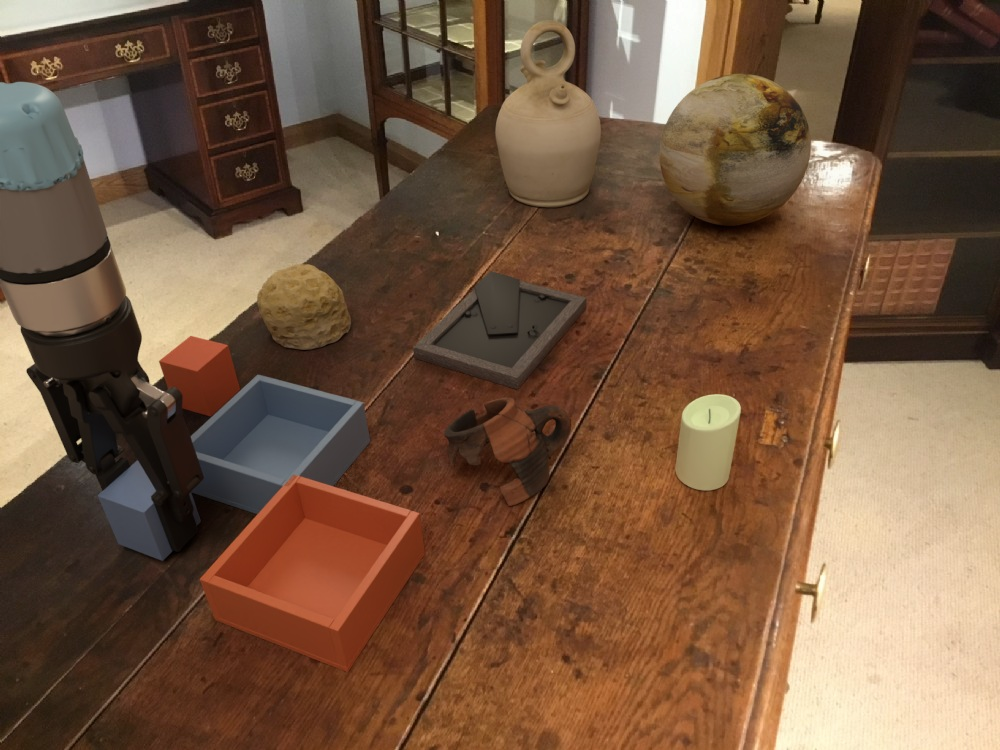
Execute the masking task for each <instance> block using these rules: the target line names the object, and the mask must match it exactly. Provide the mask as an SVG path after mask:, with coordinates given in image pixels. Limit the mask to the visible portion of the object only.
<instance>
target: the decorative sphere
mask: <svg viewBox="0 0 1000 750" xmlns="http://www.w3.org/2000/svg"><path fill="white" fill-rule="evenodd" d="M800 105H801V104H799V102H798V101H797V100H796V99H795V97H794V96H793V95H792V94H791V93H790V92H789V91H788V90H787V89H786V88H784V87H783V86H781V85H780V84H778V83H776V82H775V81H773V80H770V79H768V78H766V77H764V76H760V75H757V74H756V75H755V74H750V73H749V74H748V73H732V74H724V75H721V76H717V77H714V78H712V79H709V80H707V81H705V82H703V83H701V84H700V85H697V86H696V87H695V88H693V89H692V90H691V91H689V92H688V93H687V94H686V95H685V96H684V97H682V99H681V100H680V101H679V102H678V103H677V105H676V106H675V108H674V109H673V110H672V111H671V113H670V115H669V117H668V118H667V121H666V123H665V126H664V128H663V130H662V134H661V137H660V143H659V166H660V172H661V174H662V178H663V181H664V183H665V186H666V188H667V190H668V191H669V193H670V195H671V196H672V198H673V199H674V200H675V202H676V203H677V204H678V205H679V206H680V207H681V208H682V209H683V210H685V212H687V213H688V214H690V215H692V216H694V218H697V219H699V220H701V221H703V222H706V223H709V224H713V225H718V226H731V227H732V226H733V227H734V226H741V225H748V224H751V223H754V222H757V221H760V220H762V219H764V218H766V217H768V216H770V215H772V214H773V213H774V212H776V211H778V210H780V208H782V207H783V206H784V205H785V204H786V203H787V202H788V201H789V200H790V199H791V198H792V196H793V195H794V194H795V193H796V191H797V190H798V188H799V186H800V185H801V183H802V182H803V179H804V178H805V175H806V173H807V169H808V166H809V163H810V159H811V151H812V140H811V131H810V125H809V123H808V120H807V117H806V115H805V113H804V111H803V109H802V107H801V106H800Z"/></svg>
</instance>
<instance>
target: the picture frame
mask: <svg viewBox="0 0 1000 750" xmlns="http://www.w3.org/2000/svg"><path fill="white" fill-rule="evenodd" d="M473 287H474V289H473V290H472V291H471V292H470V293H469V294H467V295H466V296H465V297H464V298H463V299H462V300H461V301H460V302H459V303H458V304H457V305H456V306H454V308H452V309H451V310H450V312H448V313H447V314H446V315H445V316H444V317H443V318H442V319H441V320H440V321H439V322H438V323H436V325H434V326H433V327H432V328H431V329H430V330H429V331H427V333H426V334H425V335H424V336H423V337H422V338H421V339H419V340H418V342H416V343H415V344H414V345H413V346H412V350H413V358H414V359H416V360H420V361H422V362H425V363H428V364H432V365H435V366H439V367H442V368H446V369H449V370H451V371H455V372H458V373H461V374H465V375H469V376H472V377H475V378H478V379H481V380H484V381H488V382H491V383H494V384H497V385H501V386H504V387H507V388H511V389H513V390H517V391H518V390H519V389H520V388H521V387H522V385H523V384H524V383H525V382H526V381H527V380H528V379H529V377H530V376H531V375H532V374H533V373H534V371H535V370H536V369H537V368H538V366H539V365H540V364H541V363H542V362H543V360H545V358H546V357H547V356H548V355H549V353H550V352H552V351H553V349H554V347H555V346H556V345H558V343H559V341H560V340H561V339H562V338H563V337H564V336H565V334H566V333H567V332H568V331H569V330H570V329H571V328H572V326H573V325H574V324H575V322H577V320H578V319H579V318H580V317H581V315H582V314H583V313H584V312H585V311H586V309H587V299H588V298H587V297H585V296H582V295H577V294H574V293H569V292H566V291H561V290H558V289H553V288H549V287H545V286H541V285H538V284H533V283H529V282H525V281H521V280H520V278H517V277H514V276H509V275H506V274H503V273H499V272H496V271H492V270H490V271H489V272H487V274H486V275H485V276H483V277H482V278H481V279H480V280H479V281H478V282H477V283H476V284H475V285H474V286H473Z"/></svg>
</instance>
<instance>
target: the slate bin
mask: <svg viewBox="0 0 1000 750" xmlns="http://www.w3.org/2000/svg"><path fill="white" fill-rule="evenodd" d="M190 437H191V440H192V443H193V446H194V449H195V452H196V455H197V458H198V461H199V464H200V467H201V470H202V473H203V476H204V479H203V480H202V481H201V482H200V483H199V484H198V485H197V486H196V487H195V488H194V489H193V490H192V491H191V494H195V495H198V496H200V497H204V498H207V499H210V500H213V501H215V502H220V503H223V504H225V505H228V506H231V507H234V508H238V509H240V510H243V511H247V512H249V513H252V514H254V515H255V514H256V515H257V514H258V513H259V512H260V511H261V510H262V509H263V508H264V507H265V505H266V504H267V503H268V502H269V501H270V500H271V499H272V498H273V496H274V495H275V494H276V493H277V492H278V491H279V490H280V489H281V488H282V486H284V485H285V484H286V482H287V481H288V480H289V479H290V478H291V477H292V476H295V475H297V476H301V477H304V478H307V479H311V480H314V481H317V482H320V483H324V484H327V485H330V486H333V487H335V485H336V484H337V483H338V481H340V479H341V478H342V477H343V475H344V474H345V473H346V472H347V470H349V468H350V467H351V466H352V465H353V463H354V462H355V461H356V460H357V459H358V458H359V456H360V455H361V454H362V452H364V450H365V449H366V447H367V446H368V445H369V444H370V443H371V438H370V433H369V426H368V420H367V414H366V408H365V403H364V401H359V400H356V399H353V398H349V397H345V396H341V395H337V394H334V393H330V392H326V391H323V390H322V391H321V390H318V389H314V388H311V387H306V386H303V385H300V384H296V383H292V382H288V381H286V380H285V381H284V380H280V379H277V378H273V377H269V376H265V375H262V374H257V375H255V376H254V377H253V378H252V379H251V380H250V381H249V382H248V383H247V384H245V386H244V387H243V388H240V390H239V391H238V392H237V393H236V394H235V395H234V396H233V397H232V398H231V399H230V400H229V401H228V402H226V403H225V404H224V405H223V406H222V407H221V408H220V409H219V410H218V411H217V412H216V413H215V414H213V415H212V416H211V417H210V418H209V419H208V420H206V422H204V423H203V425H201V426H200V427H199V428H198V429H197V430H196V431H194V432H193V433H192V434H191V435H190ZM295 478H296V477H295ZM293 479H294V478H293ZM291 481H292V480H291ZM291 481H290V482H289V484H291V483H292V482H291ZM293 481H294V480H293ZM287 483H288V482H287ZM286 485H287V484H286Z"/></svg>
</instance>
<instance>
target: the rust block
mask: <svg viewBox="0 0 1000 750" xmlns="http://www.w3.org/2000/svg"><path fill="white" fill-rule="evenodd" d="M158 363H159V366H160V369H161V372H162V374H163V378H164V381H165V383H166V387H167V390H168V389H169V388H170V387H175V388H177V389H178V390H179V391H180V392H181V393H182V396H183V401H182V410H186V411H190V412H193V413H197V414H200V415H204V416H207V417H210V418H211V417H212V416H213V415H214V414H215V413H217V412H218V411H219V410H220V409H221V408H222V407H223V406H224V405H225V404H226V403H227V402H228V401H230V400H231V399H232V398H233V397H234V396H235V395H236V394H237V393H238V392H239V391H240V390H241V388H240V383H239V380H238V376H237V373H236V370H235V365H234V362H233V358H232V354H231V351H230V347H229V345H228V344H225V343H221V342H217V341H214V340H209V339H205V338H202V337H197V336H193V335H189V336H188V337H187V338H186V339H185V340H183V341H182V342H181V343H180V344H178V345H177V346H176V347H174V348H173V349H172V350H171V351H169V352H168V353H167V354H166V355H164V356H163V357H161V358H160V359H159V360H158Z"/></svg>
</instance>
